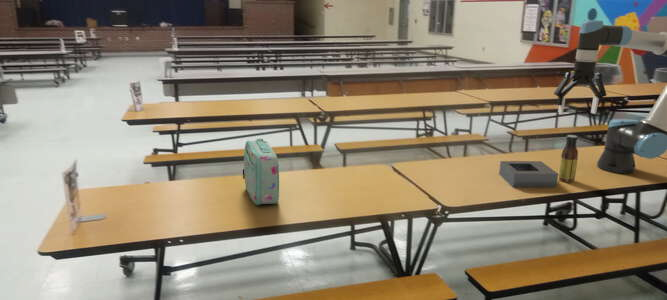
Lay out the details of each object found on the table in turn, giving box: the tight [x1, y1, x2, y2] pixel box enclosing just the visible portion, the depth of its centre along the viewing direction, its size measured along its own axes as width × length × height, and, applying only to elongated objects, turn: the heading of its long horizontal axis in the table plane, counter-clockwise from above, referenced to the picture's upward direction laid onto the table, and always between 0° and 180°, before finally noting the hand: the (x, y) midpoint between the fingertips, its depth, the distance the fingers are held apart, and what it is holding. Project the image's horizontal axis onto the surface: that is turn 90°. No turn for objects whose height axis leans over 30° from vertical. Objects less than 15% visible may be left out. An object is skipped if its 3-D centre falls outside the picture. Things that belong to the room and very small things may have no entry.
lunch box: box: [242, 138, 280, 206], centre depth 179 cm, size 27×10×21 cm, turn 21°
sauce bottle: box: [558, 134, 579, 183], centre depth 198 cm, size 7×6×20 cm
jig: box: [498, 160, 559, 189], centre depth 199 cm, size 18×16×6 cm
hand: (576, 113), depth 192 cm, fingers open, 13 cm apart
